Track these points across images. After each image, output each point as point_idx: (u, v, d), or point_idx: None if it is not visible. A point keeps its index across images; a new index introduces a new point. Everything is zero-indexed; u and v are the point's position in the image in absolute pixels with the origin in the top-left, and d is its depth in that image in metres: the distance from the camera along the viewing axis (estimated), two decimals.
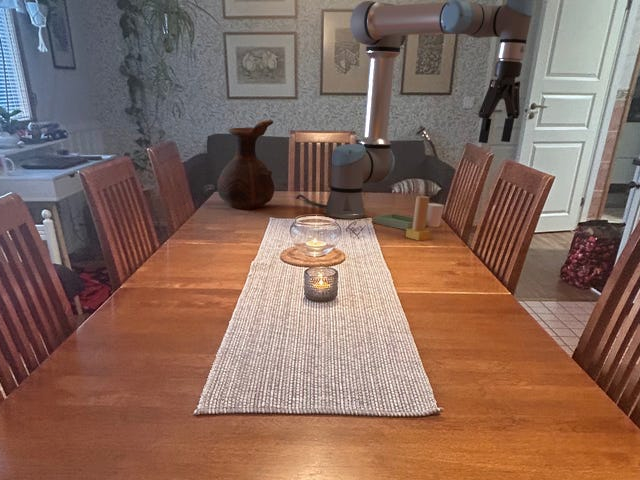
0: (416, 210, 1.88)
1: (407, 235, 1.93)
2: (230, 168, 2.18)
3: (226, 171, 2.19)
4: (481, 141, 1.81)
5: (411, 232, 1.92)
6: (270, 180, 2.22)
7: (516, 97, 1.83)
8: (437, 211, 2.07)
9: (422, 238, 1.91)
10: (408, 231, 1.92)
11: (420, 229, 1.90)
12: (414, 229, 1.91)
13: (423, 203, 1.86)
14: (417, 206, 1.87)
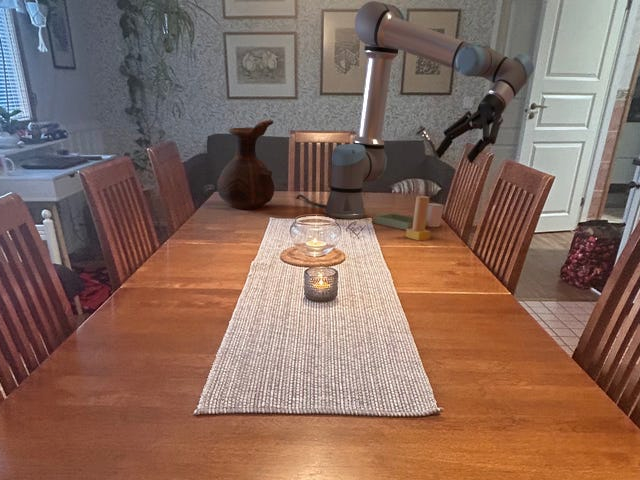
0: (416, 210, 1.88)
1: (407, 235, 1.93)
2: (230, 168, 2.18)
3: (226, 171, 2.19)
4: (470, 158, 1.81)
5: (411, 232, 1.92)
6: (270, 180, 2.22)
7: None
8: (437, 211, 2.07)
9: (422, 238, 1.91)
10: (408, 231, 1.92)
11: (420, 229, 1.90)
12: (414, 229, 1.91)
13: (423, 203, 1.86)
14: (417, 206, 1.87)
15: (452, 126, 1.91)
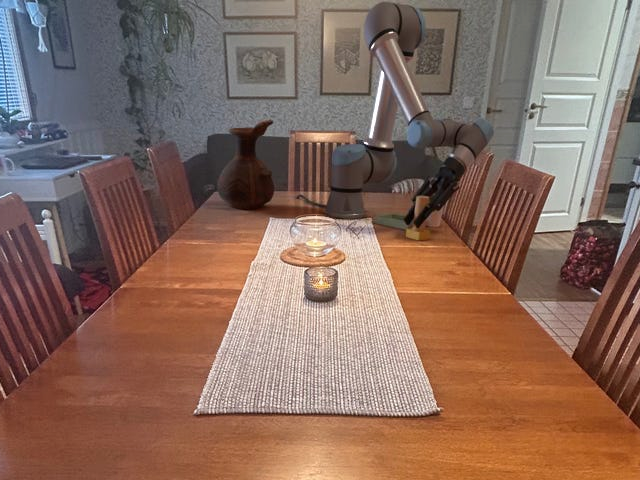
0: (416, 210, 1.88)
1: (407, 235, 1.93)
2: (230, 168, 2.18)
3: (226, 171, 2.19)
4: (416, 224, 1.87)
5: (411, 232, 1.92)
6: (270, 180, 2.22)
7: None
8: (437, 211, 2.07)
9: (422, 238, 1.91)
10: (408, 231, 1.92)
11: (420, 229, 1.90)
12: (414, 229, 1.91)
13: (423, 203, 1.86)
14: (417, 206, 1.87)
15: (418, 192, 1.91)
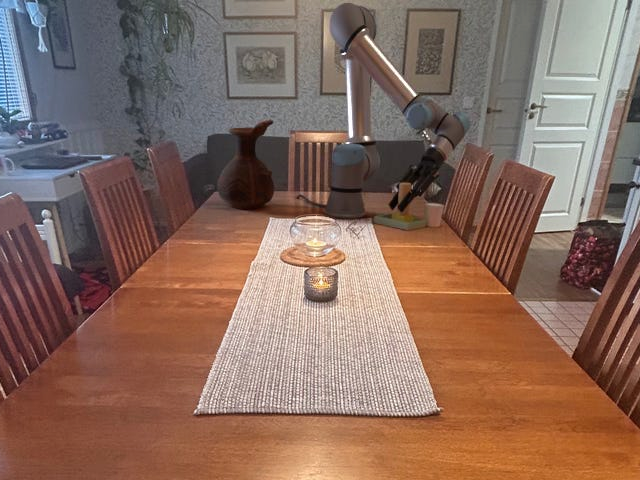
0: (400, 196, 2.06)
1: (392, 219, 2.11)
2: (230, 168, 2.18)
3: (226, 171, 2.19)
4: (400, 208, 2.05)
5: (396, 216, 2.10)
6: (270, 180, 2.22)
7: None
8: (437, 211, 2.07)
9: (407, 221, 2.09)
10: (393, 215, 2.10)
11: (404, 213, 2.08)
12: (399, 213, 2.09)
13: (406, 189, 2.04)
14: (401, 192, 2.05)
15: (402, 180, 2.09)
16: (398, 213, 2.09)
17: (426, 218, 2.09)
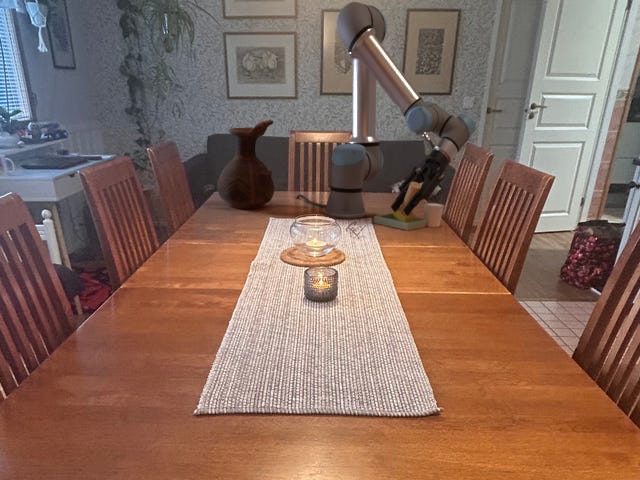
0: (407, 196, 2.03)
1: (394, 214, 2.10)
2: (230, 168, 2.18)
3: (226, 171, 2.19)
4: (406, 211, 2.02)
5: (398, 213, 2.08)
6: (270, 180, 2.22)
7: None
8: (437, 211, 2.07)
9: (407, 221, 2.09)
10: (396, 211, 2.08)
11: None
12: (402, 212, 2.07)
13: (415, 192, 2.01)
14: (409, 193, 2.02)
15: (405, 181, 2.07)
16: (401, 211, 2.07)
17: (426, 218, 2.09)
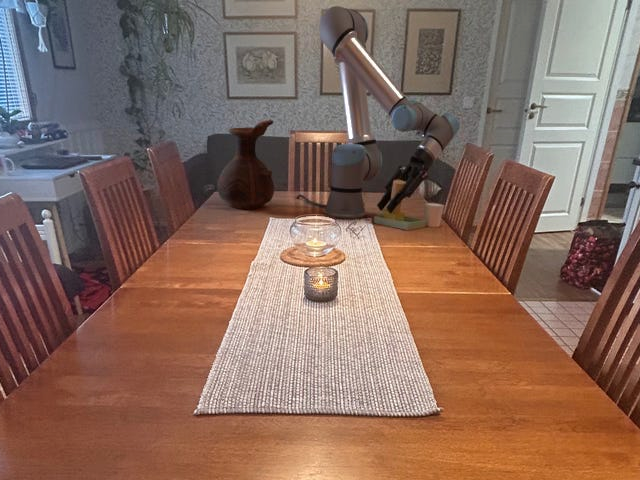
0: (393, 194, 2.06)
1: (384, 215, 2.12)
2: (230, 168, 2.18)
3: (226, 171, 2.19)
4: (389, 209, 2.05)
5: (387, 213, 2.10)
6: (270, 180, 2.22)
7: None
8: (437, 211, 2.07)
9: (397, 219, 2.10)
10: (385, 212, 2.11)
11: (396, 211, 2.09)
12: None
13: (399, 188, 2.04)
14: (394, 190, 2.05)
15: (391, 180, 2.09)
16: None
17: (426, 218, 2.09)
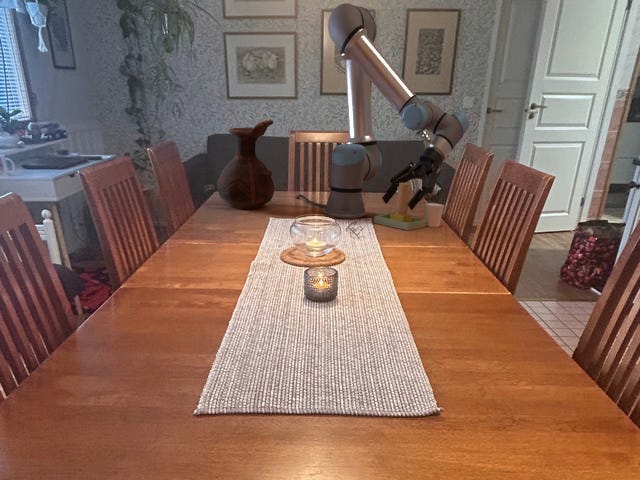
0: (399, 196, 2.06)
1: None
2: (230, 168, 2.18)
3: (226, 171, 2.19)
4: (410, 205, 2.01)
5: (395, 216, 2.10)
6: (270, 180, 2.22)
7: None
8: (437, 211, 2.07)
9: (405, 221, 2.09)
10: (392, 215, 2.11)
11: (403, 213, 2.09)
12: (398, 213, 2.09)
13: (405, 189, 2.05)
14: (400, 192, 2.06)
15: (397, 175, 2.10)
16: (397, 213, 2.09)
17: (426, 218, 2.09)
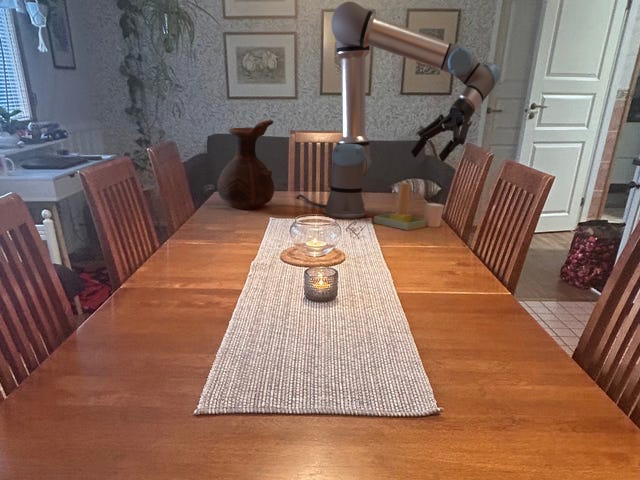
0: (399, 196, 2.06)
1: None
2: (230, 168, 2.18)
3: (226, 171, 2.19)
4: (441, 157, 1.98)
5: (395, 216, 2.10)
6: (270, 180, 2.22)
7: None
8: (437, 211, 2.07)
9: (405, 221, 2.09)
10: (392, 215, 2.11)
11: (403, 213, 2.09)
12: (398, 213, 2.09)
13: (405, 189, 2.05)
14: (400, 192, 2.06)
15: (426, 128, 2.08)
16: (397, 213, 2.09)
17: (426, 218, 2.09)
